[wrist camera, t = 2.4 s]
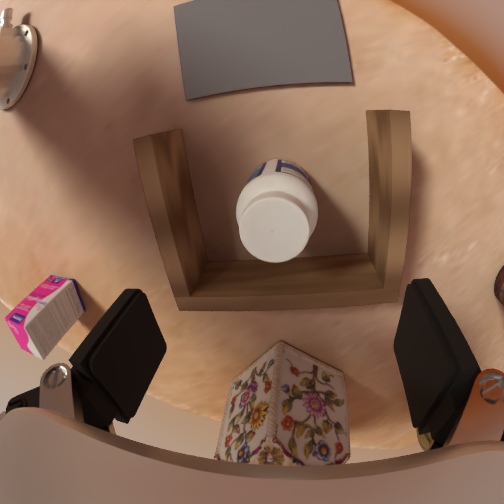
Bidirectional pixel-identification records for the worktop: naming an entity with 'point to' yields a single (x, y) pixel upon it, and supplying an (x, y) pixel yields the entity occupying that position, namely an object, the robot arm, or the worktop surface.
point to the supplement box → (46, 315)
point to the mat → (259, 44)
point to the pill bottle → (277, 211)
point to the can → (500, 286)
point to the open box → (296, 269)
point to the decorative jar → (286, 413)
